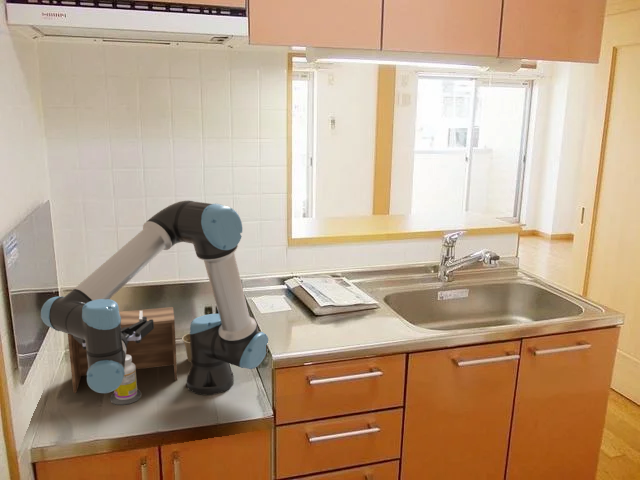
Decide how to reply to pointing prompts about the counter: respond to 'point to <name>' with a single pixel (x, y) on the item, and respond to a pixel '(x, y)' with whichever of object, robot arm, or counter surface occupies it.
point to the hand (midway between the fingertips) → (115, 317)
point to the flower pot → (187, 345)
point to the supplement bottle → (127, 381)
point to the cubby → (136, 344)
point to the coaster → (125, 402)
